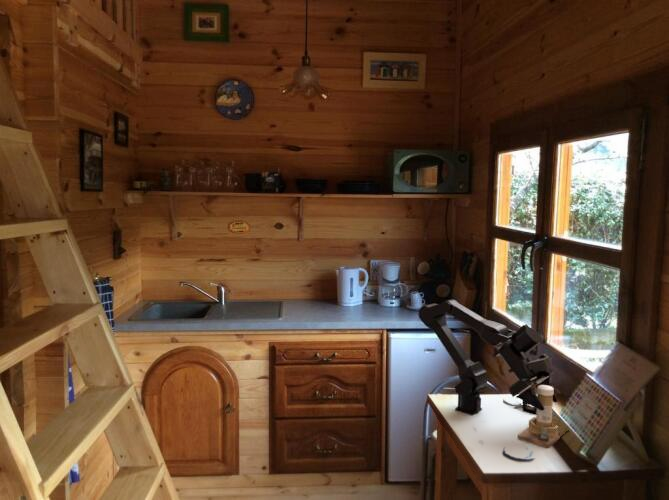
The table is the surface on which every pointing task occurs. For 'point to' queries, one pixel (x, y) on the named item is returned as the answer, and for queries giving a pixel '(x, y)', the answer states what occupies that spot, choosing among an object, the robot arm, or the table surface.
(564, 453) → the table surface
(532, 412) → the black angular block
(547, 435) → the stand
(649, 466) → the table surface
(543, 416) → the sprinkles bottle
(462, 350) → the robot arm
